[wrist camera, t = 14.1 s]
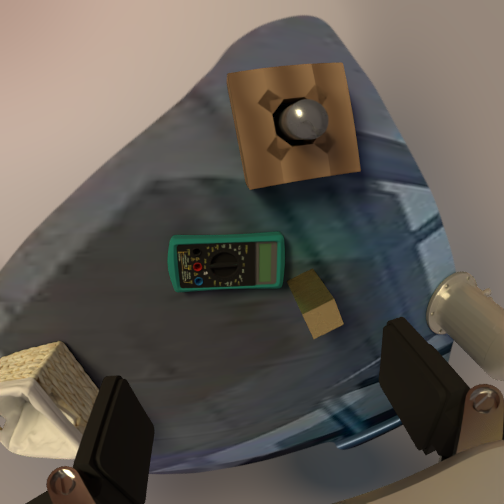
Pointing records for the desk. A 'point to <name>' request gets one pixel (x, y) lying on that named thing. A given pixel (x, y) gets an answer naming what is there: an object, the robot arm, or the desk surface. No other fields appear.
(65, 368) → the storage basket
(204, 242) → the digital multimeter
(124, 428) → the robot arm
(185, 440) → the desk surface
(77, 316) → the desk surface
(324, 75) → the bore block
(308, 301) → the square bit
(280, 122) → the cylinder
